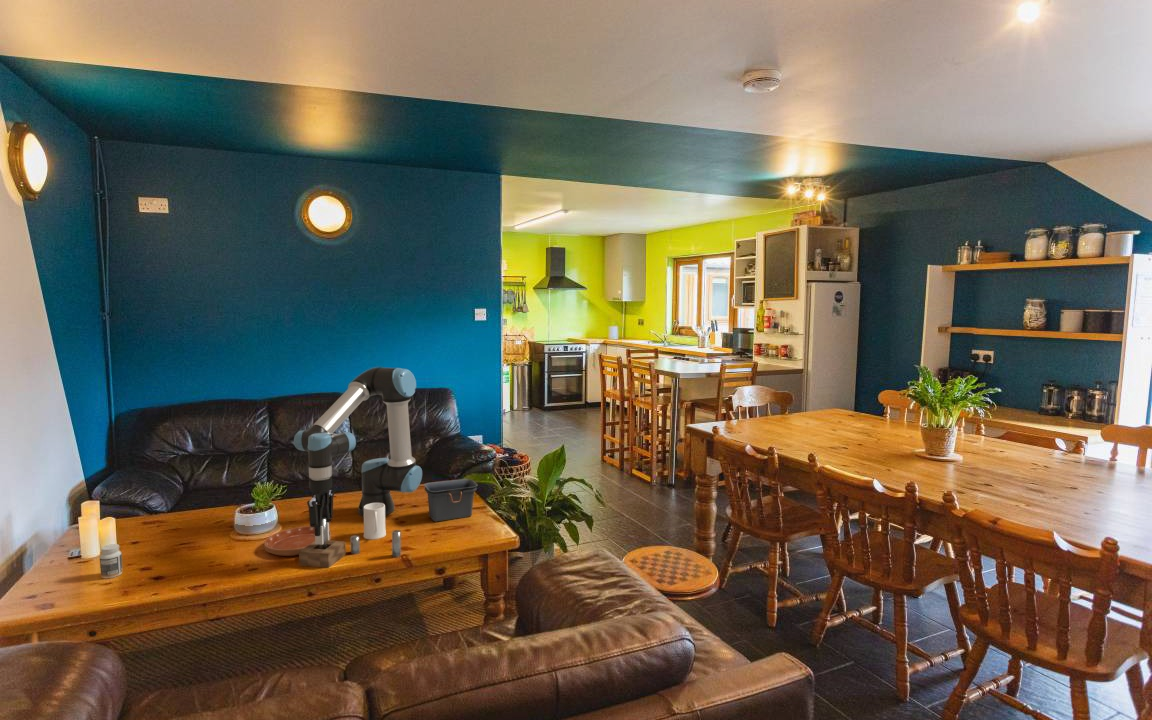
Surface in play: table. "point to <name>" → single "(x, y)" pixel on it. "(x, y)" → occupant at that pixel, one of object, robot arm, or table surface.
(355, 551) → the short pin
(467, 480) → the storage bin
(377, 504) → the mug
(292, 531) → the saucer
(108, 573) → the pill bottle
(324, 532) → the long pin
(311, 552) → the socket block
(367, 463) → the robot arm
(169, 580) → the table surface
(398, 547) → the medium pin
